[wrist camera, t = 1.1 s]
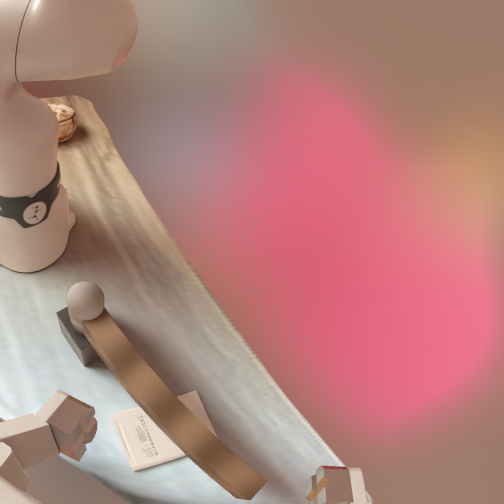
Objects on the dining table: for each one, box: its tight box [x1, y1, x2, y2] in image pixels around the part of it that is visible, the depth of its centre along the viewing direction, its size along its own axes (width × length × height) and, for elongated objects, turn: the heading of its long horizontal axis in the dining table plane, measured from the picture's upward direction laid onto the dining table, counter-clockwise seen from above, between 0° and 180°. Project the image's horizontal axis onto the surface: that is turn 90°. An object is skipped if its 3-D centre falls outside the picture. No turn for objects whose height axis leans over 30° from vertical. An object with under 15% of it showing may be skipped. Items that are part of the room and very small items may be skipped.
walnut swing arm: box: [67, 281, 267, 500], centre depth 29 cm, size 30×4×5 cm, turn 50°
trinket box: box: [46, 103, 77, 143], centre depth 56 cm, size 13×15×8 cm
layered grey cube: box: [57, 307, 119, 366], centre depth 36 cm, size 6×6×6 cm
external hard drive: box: [110, 391, 218, 471], centre depth 34 cm, size 2×8×12 cm
